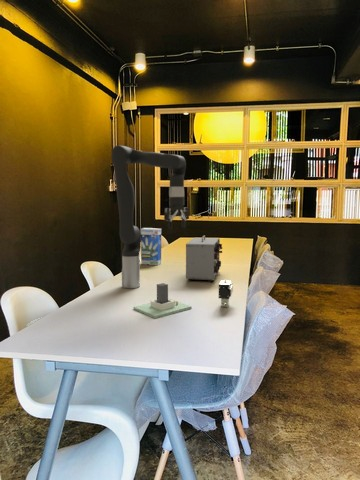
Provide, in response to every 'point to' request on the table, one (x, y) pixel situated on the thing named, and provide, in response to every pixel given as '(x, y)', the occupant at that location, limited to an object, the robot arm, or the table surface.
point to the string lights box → (151, 246)
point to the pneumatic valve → (225, 292)
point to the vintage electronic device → (203, 258)
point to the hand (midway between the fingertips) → (176, 228)
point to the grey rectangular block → (162, 293)
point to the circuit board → (162, 308)
